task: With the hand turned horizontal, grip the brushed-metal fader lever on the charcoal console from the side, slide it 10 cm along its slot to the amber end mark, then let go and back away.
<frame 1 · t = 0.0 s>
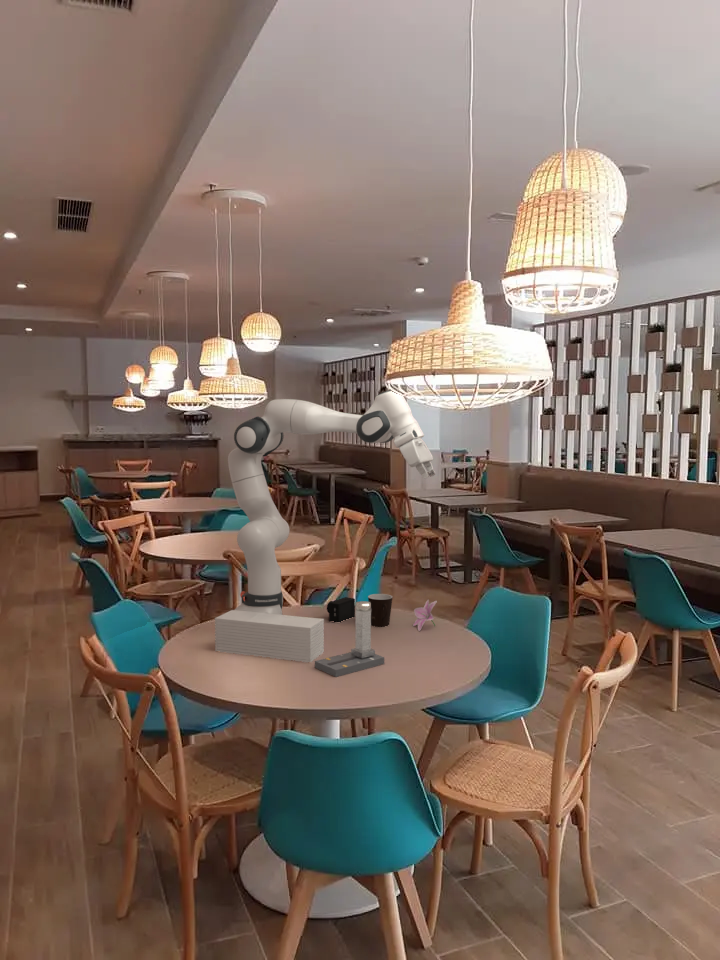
hand: (429, 476, 229), 54 cm above the table, tool tilted 30°, fingers open, 8 cm apart
digital camera: (340, 619, 269), on the table
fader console: (349, 665, 217), on the table
coffee mug: (379, 626, 259), on the table
fader lever: (363, 629, 219), point 10 cm above the table, slide at 0.0 cm
lily: (424, 628, 257), on the table
stack of papers: (269, 653, 230), on the table
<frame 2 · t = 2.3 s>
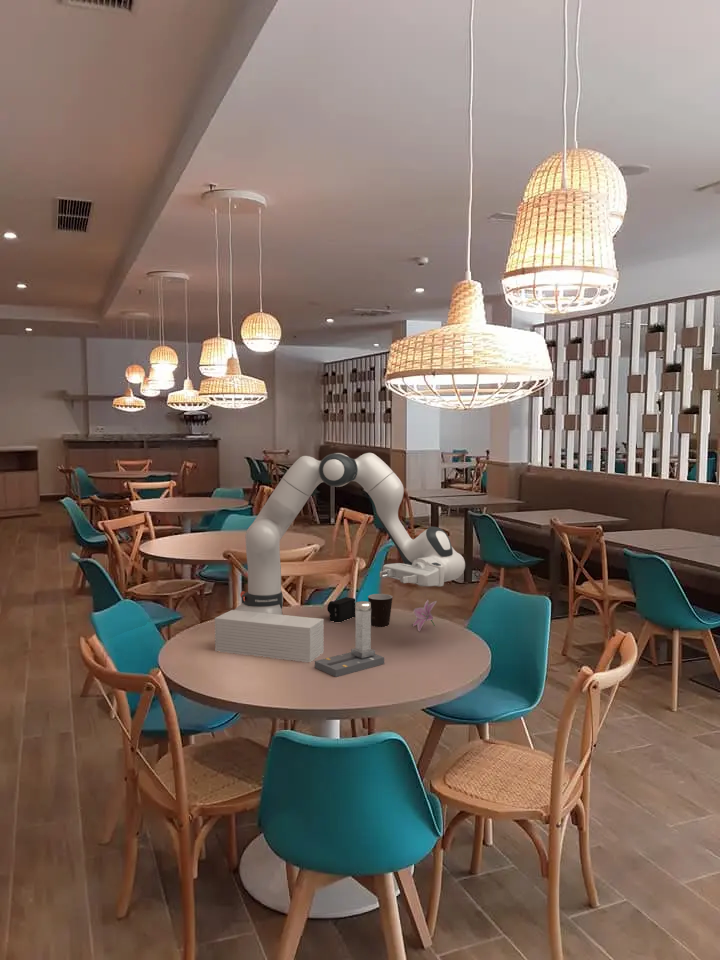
hand: (391, 577, 225), 24 cm above the table, tool horizontal, fingers open, 8 cm apart
nothing on the table moved.
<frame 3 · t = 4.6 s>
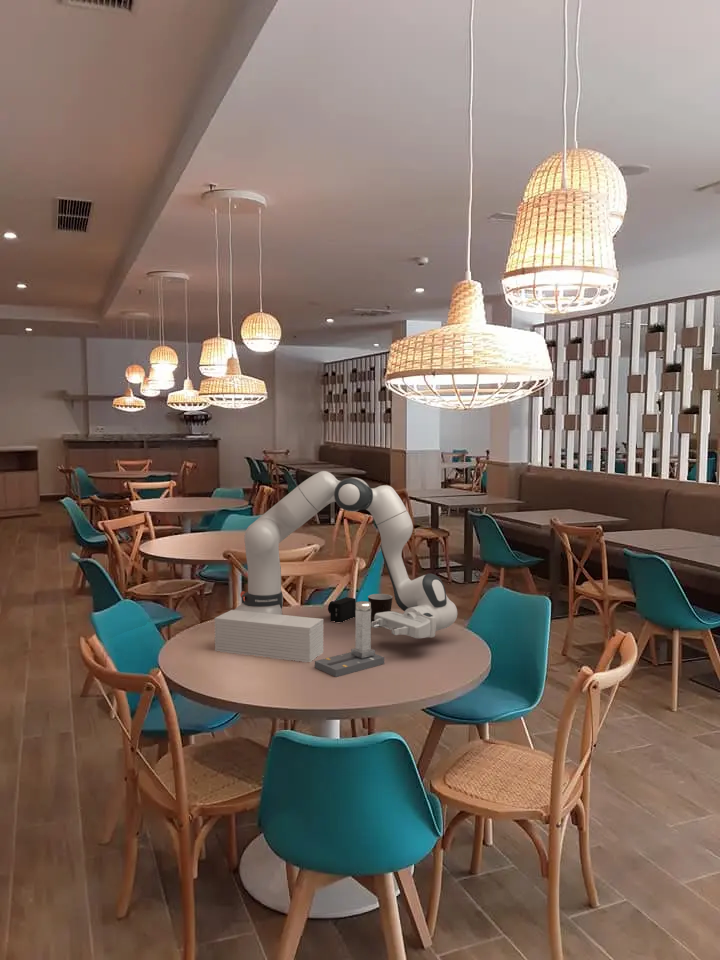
hand: (382, 628, 224), 9 cm above the table, tool horizontal, fingers open, 8 cm apart
nothing on the table moved.
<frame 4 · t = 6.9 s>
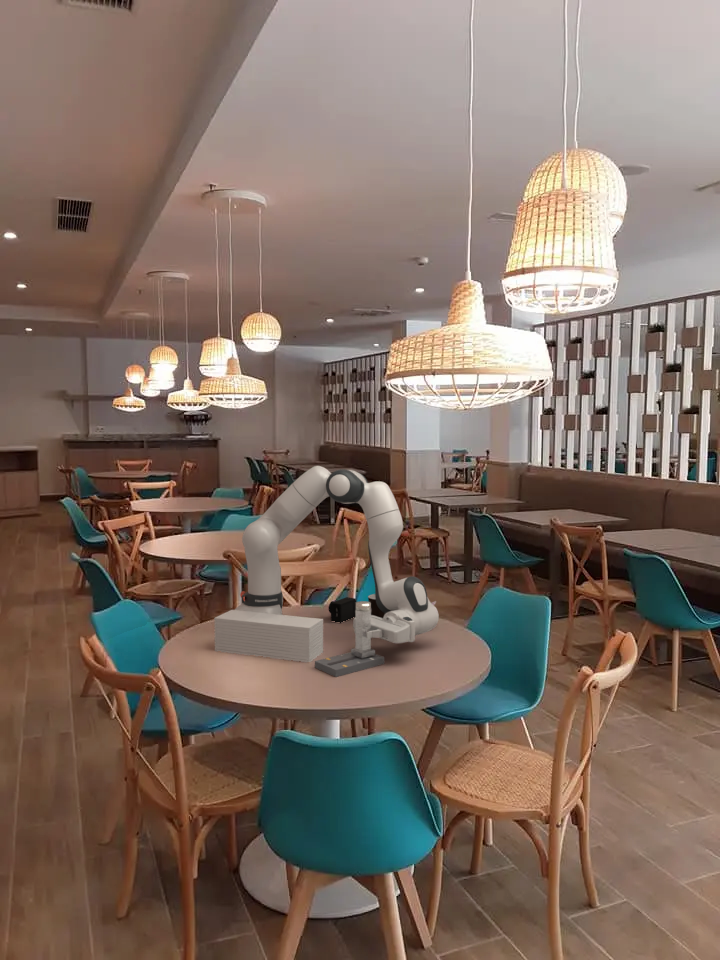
hand: (360, 633, 219), 9 cm above the table, tool horizontal, fingers closed on fader lever, 3 cm apart
fader lever: (363, 629, 219), point 10 cm above the table, slide at 0.0 cm, touching gripper
everything else where it was.
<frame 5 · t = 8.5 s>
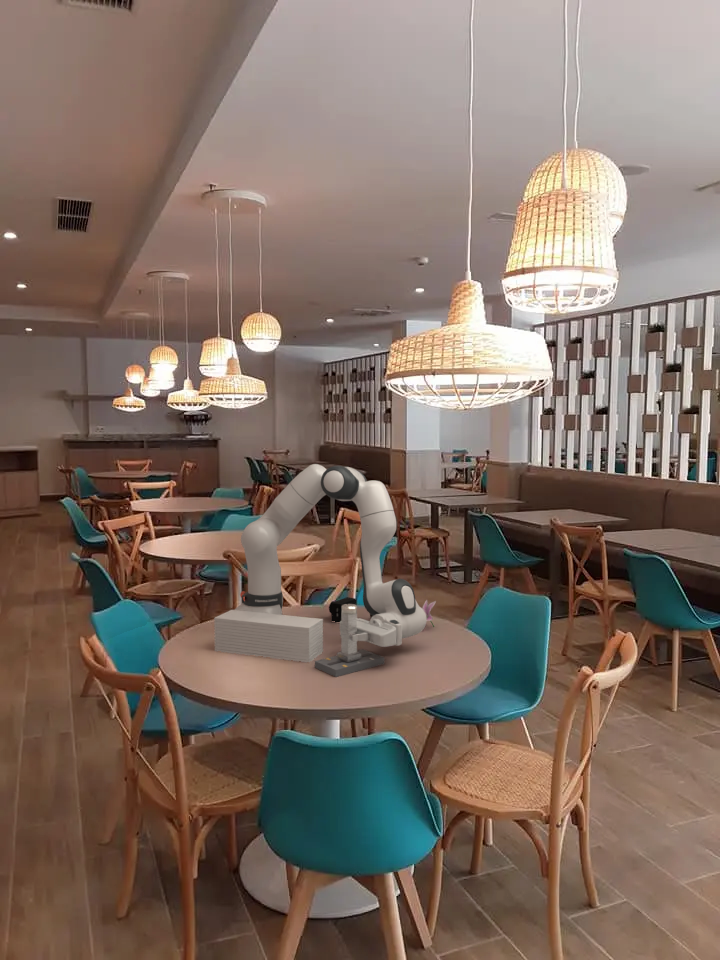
hand: (346, 636, 215), 9 cm above the table, tool horizontal, fingers closed on fader lever, 3 cm apart
fader lever: (349, 632, 216), point 10 cm above the table, slide at 5.3 cm, touching gripper
everything else where it was.
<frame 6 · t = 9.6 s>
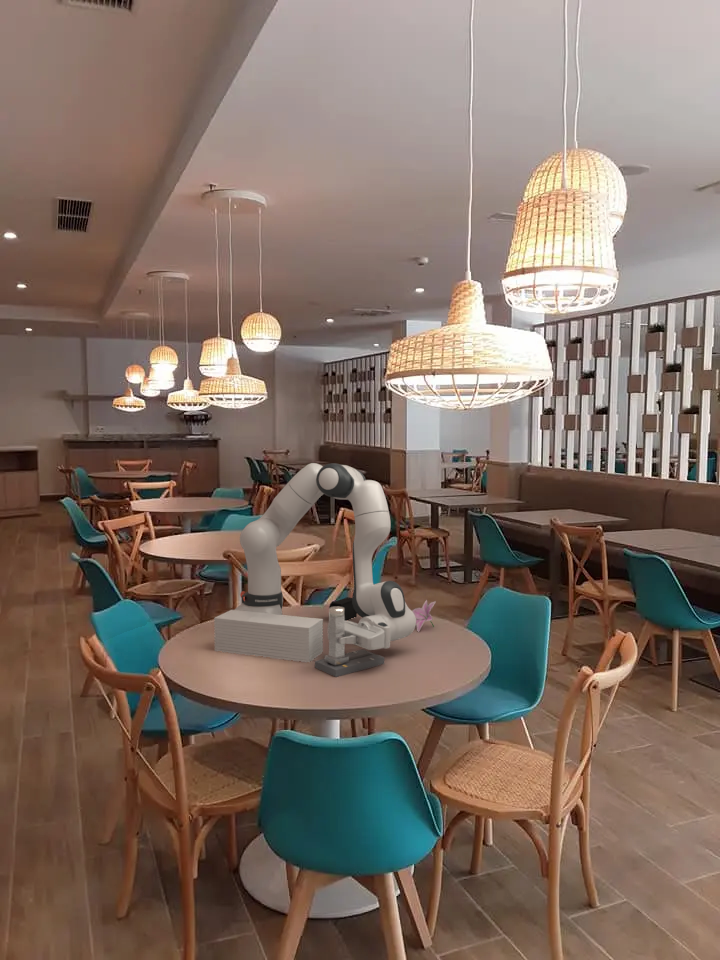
hand: (334, 639, 212), 9 cm above the table, tool horizontal, fingers closed on fader lever, 3 cm apart
fader lever: (336, 635, 213), point 10 cm above the table, slide at 9.9 cm, touching gripper
everything else where it was.
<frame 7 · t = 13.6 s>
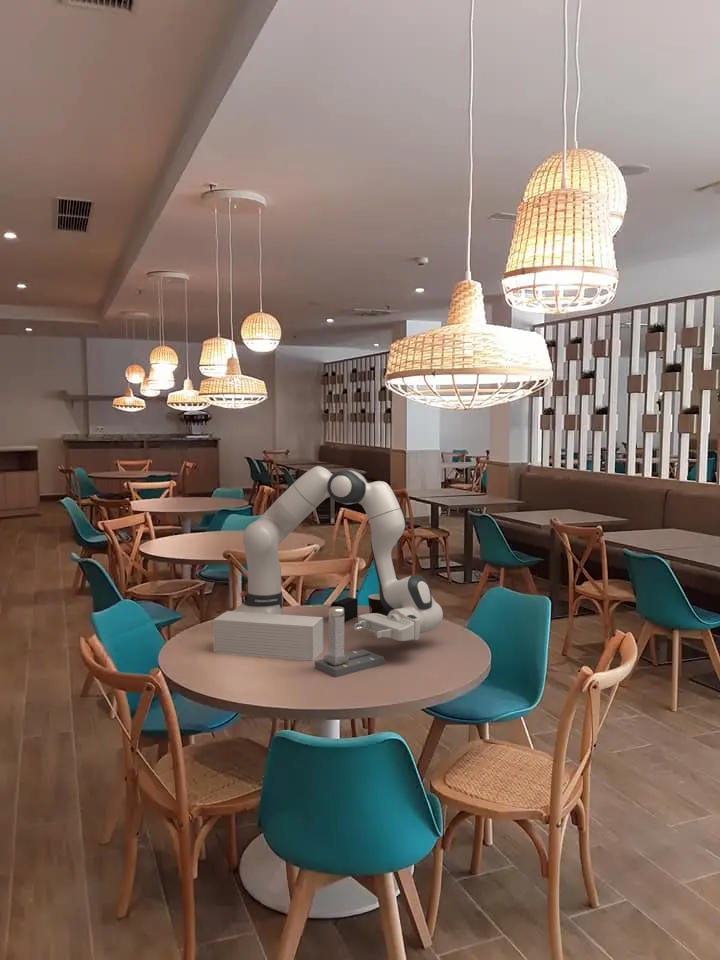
hand: (365, 630, 220), 9 cm above the table, tool horizontal, fingers open, 8 cm apart
fader lever: (336, 635, 213), point 10 cm above the table, slide at 10.0 cm
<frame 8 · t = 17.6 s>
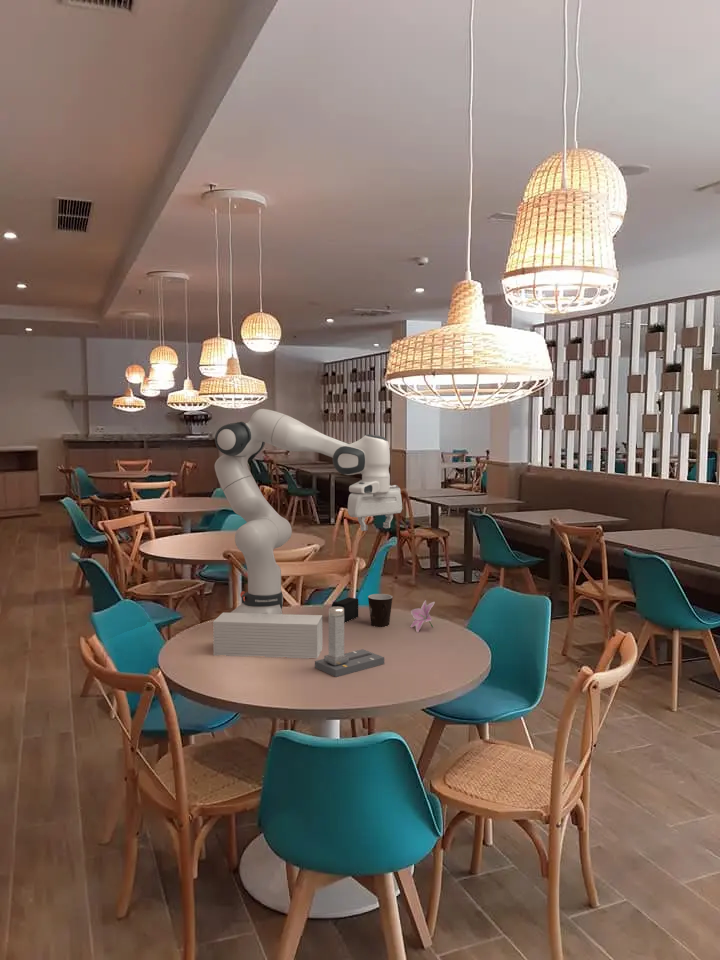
hand: (375, 529, 236), 37 cm above the table, tool pointing down, fingers open, 8 cm apart
at the end: fader lever slide at 10.0 cm; the gripper is holding nothing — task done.
